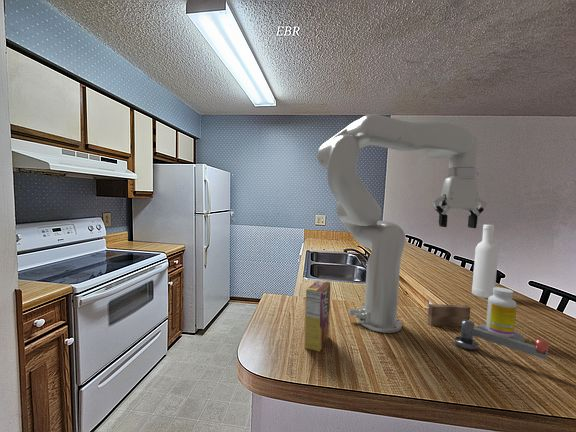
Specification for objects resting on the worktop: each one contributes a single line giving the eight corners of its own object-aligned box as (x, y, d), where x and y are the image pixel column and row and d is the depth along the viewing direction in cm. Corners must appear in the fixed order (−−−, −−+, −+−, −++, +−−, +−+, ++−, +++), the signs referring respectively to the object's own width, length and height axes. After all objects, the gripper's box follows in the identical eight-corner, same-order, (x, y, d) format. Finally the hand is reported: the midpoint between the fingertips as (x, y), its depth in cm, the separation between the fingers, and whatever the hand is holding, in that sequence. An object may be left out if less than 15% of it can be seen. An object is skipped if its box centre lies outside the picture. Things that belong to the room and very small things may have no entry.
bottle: (467, 292, 119) (472, 223, 117) (480, 291, 122) (486, 223, 120) (485, 299, 112) (491, 225, 110) (499, 298, 114) (505, 225, 112)
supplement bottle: (519, 339, 77) (523, 294, 76) (492, 336, 78) (496, 292, 78) (505, 328, 84) (509, 287, 83) (481, 326, 85) (484, 285, 84)
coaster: (496, 343, 75) (496, 341, 75) (468, 325, 86) (469, 323, 86) (535, 345, 76) (535, 342, 76) (503, 326, 87) (503, 324, 87)
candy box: (314, 333, 77) (317, 279, 77) (329, 336, 76) (332, 282, 75) (302, 348, 69) (305, 288, 68) (319, 352, 68) (322, 291, 67)
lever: (452, 344, 74) (454, 318, 73) (458, 338, 77) (459, 313, 77) (544, 377, 61) (547, 346, 60) (546, 368, 64) (549, 338, 64)
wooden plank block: (430, 325, 85) (432, 306, 85) (427, 322, 87) (428, 304, 87) (468, 326, 86) (470, 307, 85) (464, 323, 88) (466, 305, 87)
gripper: (479, 176, 93) (475, 227, 94) (428, 174, 92) (425, 225, 94) (496, 174, 86) (492, 229, 87) (441, 172, 85) (437, 227, 86)
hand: (457, 227), depth 90 cm, fingers open, 9 cm apart
